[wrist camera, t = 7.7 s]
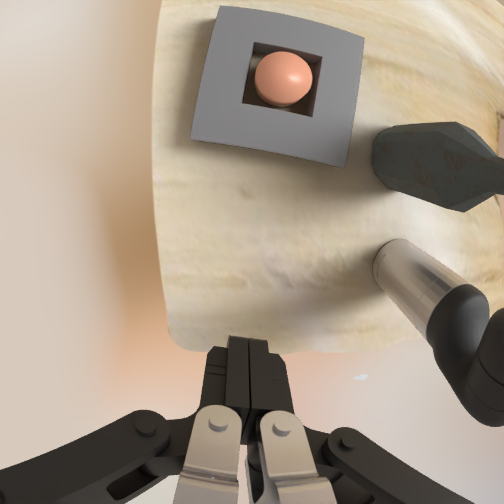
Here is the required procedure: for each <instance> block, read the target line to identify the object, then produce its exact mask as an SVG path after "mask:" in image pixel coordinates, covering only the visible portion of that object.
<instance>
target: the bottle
mask: <svg viewBox="0 0 504 504" xmlns="http://www.w3.org/2000/svg"><path fill="white" fill-rule="evenodd" d="M372 165H373V168H374V171H375V174H376V175H377V176H378V177H379V178H380V179H381V181H382V182H383V183H384V184H385V185H386V187H387V188H389V189H392V190H395V191H398V192H401V193H404V194H407V195H410V196H413V197H416V198H419V199H422V200H425V201H427V202H430V203H433V204H436V205H438V206H441V207H444V208H446V209H451V210H455V211H460V212H466V211H468V210H470V209H471V208H473V207H475V206H476V205H478V204H480V203H481V202H483V201H485V200H487V199H488V198H490V197H491V196H493V195H495V194H501V195H504V159H503V158H500V157H498V156H497V155H496V154H495V152H494V151H493V150H492V149H491V148H490V147H489V146H488V145H487V144H486V142H485V141H484V140H483V139H482V138H481V137H480V136H479V135H478V134H477V133H476V132H475V131H474V130H472V129H470V128H468V127H466V126H464V125H462V124H460V123H458V122H436V123H420V124H408V125H397V126H393V127H391V128H389V129H387V130H385V131H383V132H381V133H380V134H379V135H378V136H377V138H376V140H375V141H374V148H373V158H372Z"/></svg>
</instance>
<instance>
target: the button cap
mask: <svg viewBox="0 0 504 504" xmlns="http://www.w3.org/2000/svg"><path fill="white" fill-rule="evenodd" d="M311 84H312V73H311V70H310V68H309V66H308V64H307V63H306V62H305V61H304V60H303V59H302V58H300V57H299V56H297V55H295V54H293V53H289V52H274V53H271V54H269V55H267V56H265V57H264V58H263V59H262V60H261V61H260V62H259V64H258V66H257V68H256V73H255V79H254V86H255V89H256V92H257V94H258V95H259V96H260V98H261V99H262V100H264V101H265V102H266V103H268V104H270V105H273V106H278V107H285V106H290V105H292V104H294V103H296V102H297V101H299V100H300V99H301V98H302V97H303V96H304V95H305V94H306V93H307V92H308V91H309V89H310V87H311Z"/></svg>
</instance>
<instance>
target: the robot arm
mask: <svg viewBox="0 0 504 504" xmlns="http://www.w3.org/2000/svg"><path fill="white" fill-rule="evenodd" d="M373 276H374V279H375V281H376V282H377V284H378V285H379V286H380V287H381V288H382V289H383V290H384V292H385V293H386V294H387V295H388V296H389V297H390V298H391V300H392V301H393V302H394V303H395V304H396V305H397V306H398V307H399V309H400V310H401V311H402V312H403V313H404V314H405V316H406V317H407V318H408V319H409V320H410V321H411V323H412V324H413V325H414V326H415V327H416V328H417V330H418V331H419V332H420V333H421V334H422V335H423V337H424V338H425V339H426V340H427V342H428V343H429V344H430V345H431V347H432V348H433V352H434V357H435V360H436V363H437V365H438V367H439V368H440V370H441V371H442V373H443V375H444V376H445V378H446V379H447V381H448V383H449V384H450V386H451V387H452V389H453V391H454V392H455V394H456V396H457V397H458V399H459V400H460V402H461V404H462V405H463V406H464V408H465V409H466V410H467V411H468V413H469V414H470V415H471V416H472V417H474V418H475V419H476V420H477V421H479V422H480V423H482V424H484V425H487V426H491V427H500V426H504V308H502V309H499V310H498V311H496V312H495V313H494V314H493V315H492V317H491V318H490V320H489V304H488V301H487V298H486V297H485V295H484V294H483V293H482V292H481V291H480V290H478V289H477V288H476V287H474V286H473V285H472V284H470V283H469V282H468V281H466V280H465V279H463V278H462V277H461V276H459V275H458V274H456V273H455V272H454V271H452V270H451V269H449V268H448V267H446V266H445V265H444V264H442V263H441V262H439V261H438V260H436V259H435V258H433V257H432V256H430V255H429V254H427V253H426V252H424V251H423V250H421V249H420V248H418V247H417V246H415V245H414V244H412V243H411V242H409V241H407V240H404V239H396V240H392V241H390V242H388V243H387V244H386V245H384V246H383V247H382V248H381V250H380V251H379V252H378V254H377V255H376V258H375V260H374V264H373ZM240 444H241V445H247V453H248V454H247V456H246V459H245V469H246V478H247V486H248V494H249V503H250V504H474V503H473V502H471V501H469V500H467V499H465V498H464V497H462V496H460V495H458V494H456V493H454V492H452V491H450V490H449V489H447V488H445V487H444V486H442V485H440V484H438V483H437V482H435V481H433V480H431V479H430V478H428V477H427V476H425V475H423V474H422V473H420V472H418V471H417V470H415V469H414V468H412V467H410V466H409V465H407V464H406V463H404V462H403V461H401V460H399V459H398V458H396V457H395V456H393V455H392V454H390V453H389V452H387V451H386V450H385V449H383V448H382V447H380V446H378V445H377V444H376V443H374V442H373V441H371V440H370V439H369V438H367V437H366V436H364V435H363V434H362V433H360V432H359V431H357V430H355V429H352V428H348V427H341V428H337V429H335V430H334V431H332V433H331V434H328V433H324V432H320V431H315V430H312V429H309V428H307V427H305V426H304V425H303V424H302V422H301V420H300V419H299V418H298V417H296V416H295V414H294V409H293V404H292V398H291V392H290V387H289V383H288V377H287V370H286V365H285V362H284V361H283V360H282V358H281V357H280V355H279V354H273V353H269V350H268V342H267V340H260V339H252V338H244V337H237V336H230V335H229V337H228V343H227V348H224V347H217V346H214V347H213V348H212V349H211V350H210V351H209V353H208V354H207V360H206V366H205V374H204V380H203V387H202V394H201V401H200V406H199V408H198V409H197V411H196V412H195V413H194V414H192V415H191V416H189V417H187V418H183V419H174V420H166V419H165V418H164V417H163V416H161V415H160V414H158V413H156V412H154V411H150V410H137V411H134V412H132V413H130V414H128V415H126V416H124V417H122V418H120V419H118V420H116V421H114V422H112V423H110V424H108V425H106V426H104V427H102V428H100V429H98V430H96V431H94V432H92V433H90V434H88V435H86V436H84V437H81V438H79V439H77V440H75V441H73V442H70V443H68V444H66V445H64V446H61V447H59V448H57V449H54V450H52V451H50V452H47V453H45V454H42V455H40V456H37V457H35V458H32V459H30V460H27V461H24V462H22V463H19V464H17V465H13V466H10V467H8V468H5V469H2V470H0V504H125V503H126V502H128V501H130V500H132V499H133V498H135V497H137V496H138V495H140V494H142V493H143V492H145V491H146V490H148V489H150V488H151V487H153V486H154V485H156V484H157V483H159V482H160V481H162V480H163V479H165V478H166V477H167V476H169V475H180V476H179V479H178V483H177V488H176V492H175V496H174V500H173V504H237V500H238V487H239V484H238V480H237V470H238V460H239V448H240Z"/></svg>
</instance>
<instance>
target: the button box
mask: <svg viewBox="0 0 504 504" xmlns="http://www.w3.org/2000/svg"><path fill="white" fill-rule="evenodd" d="M364 39H365V38H364V37H361V36H358V35H356V34H353V33H350V32H347V31H344V30H341V29H338V28H335V27H332V26H328V25H325V24H322V23H318V22H314V21H310V20H307V19H302V18H298V17H294V16H289V15H285V14H280V13H274V12H269V11H262V10H256V9H249V8H240V7H231V6H220V7H219V11H218V14H217V18H216V21H215V25H214V29H213V32H212V36H211V40H210V44H209V48H208V52H207V56H206V60H205V65H204V69H203V74H202V78H201V83H200V87H199V92H198V97H197V102H196V107H195V113H194V118H193V124H192V129H191V135H190V140H194V141H202V142H210V143H218V144H225V145H232V146H238V147H244V148H250V149H256V150H262V151H267V152H273V153H278V154H283V155H288V156H293V157H297V158H302V159H306V160H311V161H315V162H319V163H323V164H328V165H332V166H336V167H341V168H345V164H346V159H347V154H348V149H349V143H350V138H351V132H352V127H353V121H354V115H355V109H356V103H357V96H358V89H359V82H360V75H361V67H362V58H363V49H364ZM253 52H258V53H264V54H271V53H274V52H289V53H293V54H295V55H297V56H299V57H300V58H302V59H303V60H304V61H305V62H306V63H310V64H314V65H315V70H314V76H313V82H312V88H311V93H310V99H309V105H308V110H307V116H304V115H300V114H296V113H291V112H287V111H282V110H277V109H272V108H267V107H261V106H256V105H250V104H243V103H242V102H243V97H244V92H245V87H246V82H247V77H248V72H249V67H250V63H251V58H252V53H253Z"/></svg>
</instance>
